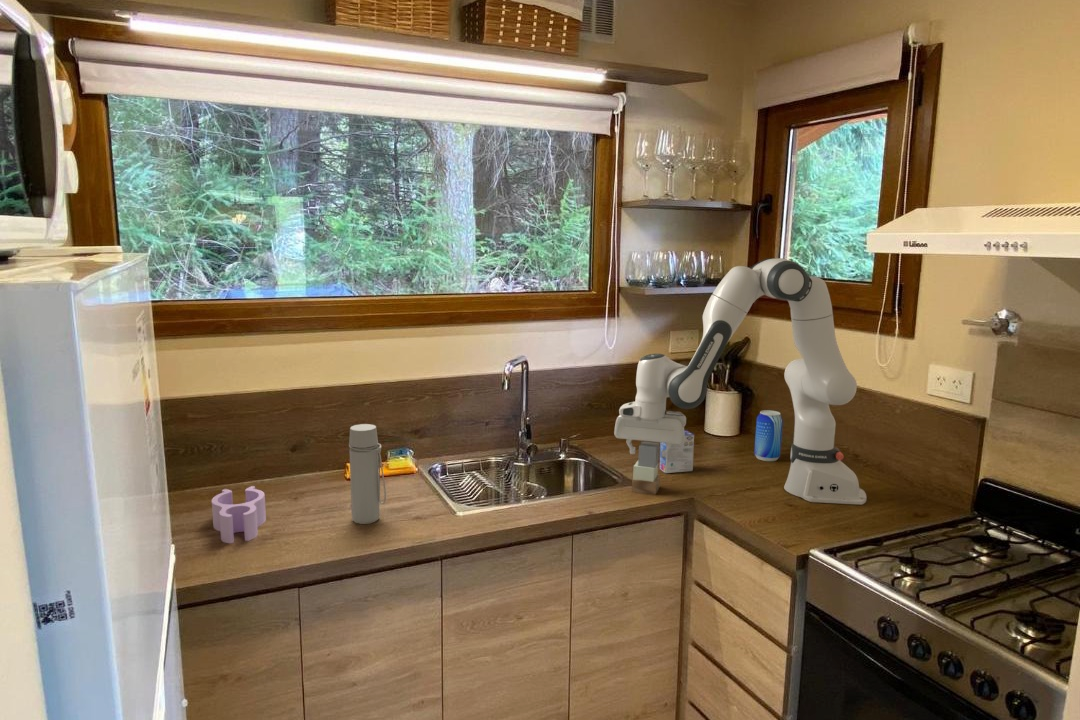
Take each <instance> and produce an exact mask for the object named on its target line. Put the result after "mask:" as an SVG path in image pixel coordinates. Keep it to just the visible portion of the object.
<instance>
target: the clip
mask: <svg viewBox="0 0 1080 720" xmlns="http://www.w3.org/2000/svg"><path fill="white" fill-rule="evenodd" d="M244 492H245V493H244V494H245V502H242V503H237V504H236V503H234V502H233V491H232V490H231V489H228V488H224V489H222V490H221V493H218V494H216V495H215V496H214V497H213V498H211V512H212V513H211V515H212V524H213V525H212V527H213V529H214V530H216V531H217V532H218V531H219V532H220V540H221V542H223V543H225V544H233V543H234V542H235V539H234V537H235V536H234V534H235V533H239V532H240V533H241V532H243V533H244V541H245V542H249V541H251V540H252V541H253V539H255V538H257V537H258V530H259V529H258V528H259V527H260V526H262V525H263V524H264V523H266V521H267V516H266V515H267V514H266V513H267V512H266V497H265V496H266V495H265V492H264V491H262V490H261V489H257V488H256V486H254V485H251V486H249V487H247V488H246V489H245V490H244Z"/></svg>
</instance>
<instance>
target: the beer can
mask: <svg viewBox="0 0 1080 720" xmlns="http://www.w3.org/2000/svg"><path fill="white" fill-rule="evenodd" d="M755 425H756V426H755V436H754V437H755V438H754V440H755V441H754V450H753V451H754V452H753V453H754V456H755V457H756V459H758V460H761V461H764V462H777V460H778V459H780V458H781V449H782V448H781V447H782V440H783V439H782V438H783V437H782V436H783V425H784V419H783V418H782V415H781V412H779V411H776V410H772V409H771V410H770V409H769V410H768V409H767V410H766V409H764V410H760V412H759V414H758V415H757V417H756V424H755Z"/></svg>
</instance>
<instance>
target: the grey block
mask: <svg viewBox="0 0 1080 720" xmlns="http://www.w3.org/2000/svg"><path fill="white" fill-rule="evenodd" d="M659 454H660V442H651V441H641V443H640V444H639V445H638V457H637V458H638V460H637V461H638V466H643V467H651V468H655V467H656V466H657V464H658V465H659Z"/></svg>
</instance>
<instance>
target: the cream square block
mask: <svg viewBox="0 0 1080 720" xmlns="http://www.w3.org/2000/svg"><path fill="white" fill-rule="evenodd" d="M658 468H659V463H658V464H657V466H656V467H655V468H651V467H643V466H638V460H637V461H636V462H635V464H633V469H632V470H633V472H632V475H633V476H632V479H636V480H643V481H650V482H654V480H655V478H656V477H657V475H658V470H659V469H658Z"/></svg>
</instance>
